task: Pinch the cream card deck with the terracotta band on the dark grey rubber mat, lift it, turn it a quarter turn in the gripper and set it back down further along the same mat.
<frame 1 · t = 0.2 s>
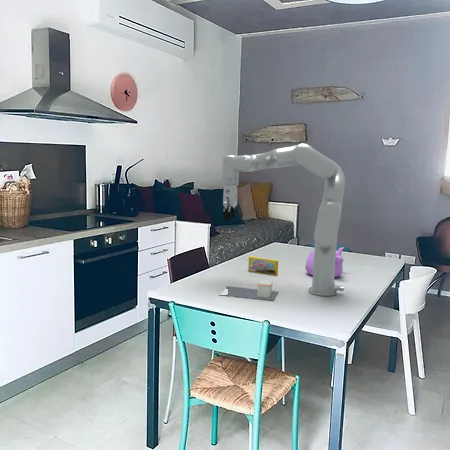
hand: (229, 218, 216), 31 cm above the table, tool pointing down, fingers open, 9 cm apart
candy box: (262, 274, 241), on the table
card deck: (264, 294, 202), resting on mat
mat: (249, 293, 203), on the table
teapot: (324, 275, 241), on the table
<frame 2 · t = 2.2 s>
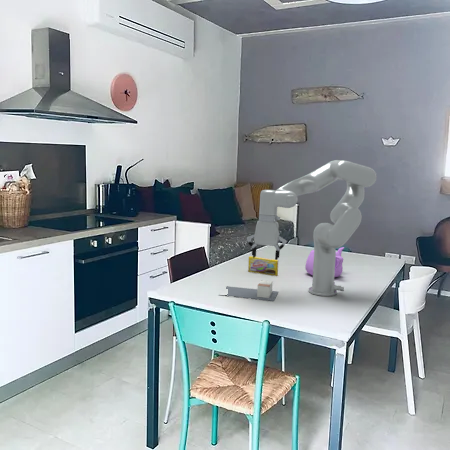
hand: (265, 258, 199), 17 cm above the table, tool pointing down, fingers open, 9 cm apart
nothing on the table moved.
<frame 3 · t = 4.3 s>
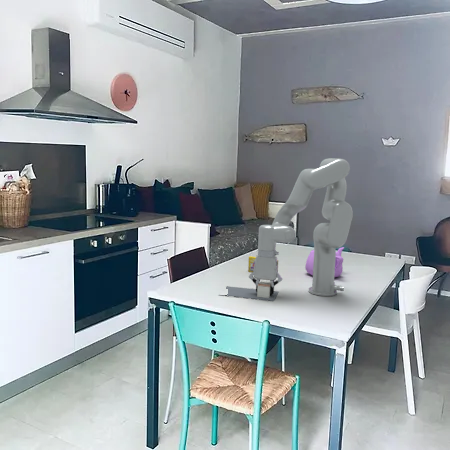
hand: (264, 294, 202), 1 cm above the table, tool pointing down, fingers closed on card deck, 5 cm apart
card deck: (264, 294, 202), resting on mat, touching gripper
everything else where it was.
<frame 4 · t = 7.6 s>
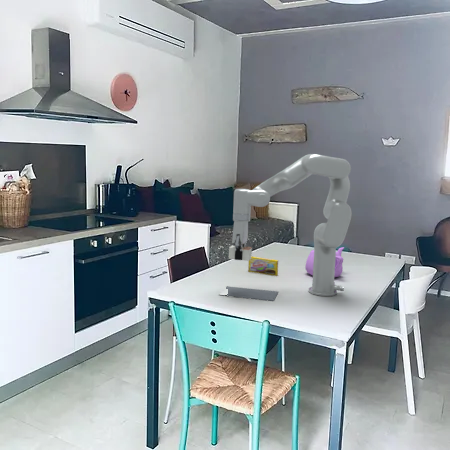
hand: (239, 258, 202), 16 cm above the table, tool pointing down, fingers closed on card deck, 5 cm apart
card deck: (240, 258, 202), point 15 cm above the table, touching gripper
everything else where it was.
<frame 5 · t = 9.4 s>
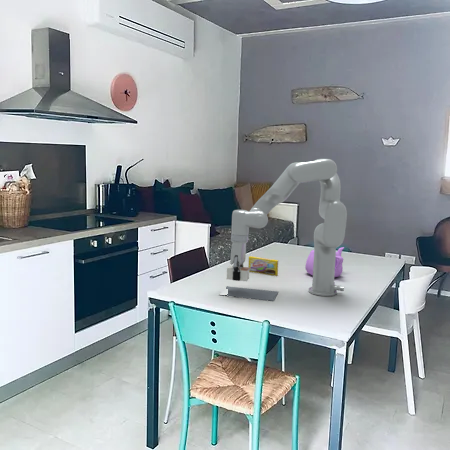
hand: (237, 278, 204), 6 cm above the table, tool pointing down, fingers closed on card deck, 5 cm apart
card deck: (237, 278, 204), point 6 cm above the table, touching gripper
everything else where it was.
when the fingers open (2 cm above the table, at t = 11.1 s): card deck stays where it is, resting on mat.
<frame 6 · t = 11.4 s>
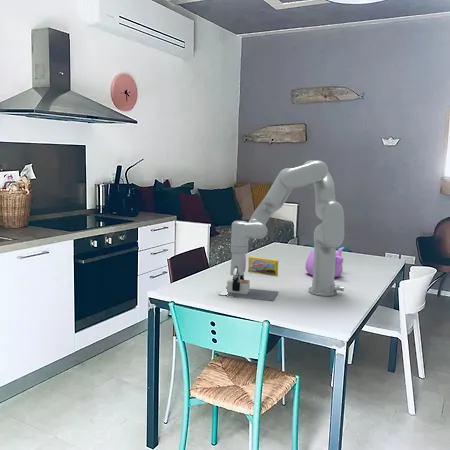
hand: (238, 288, 204), 2 cm above the table, tool pointing down, fingers open, 7 cm apart
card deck: (238, 291, 205), resting on mat
everything else where it was.
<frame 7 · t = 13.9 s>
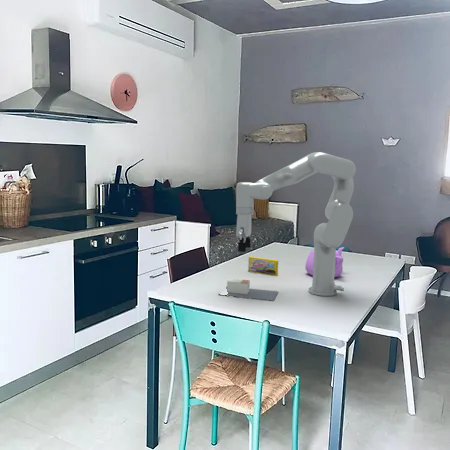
hand: (244, 249, 203), 19 cm above the table, tool pointing down, fingers open, 9 cm apart
nothing on the table moved.
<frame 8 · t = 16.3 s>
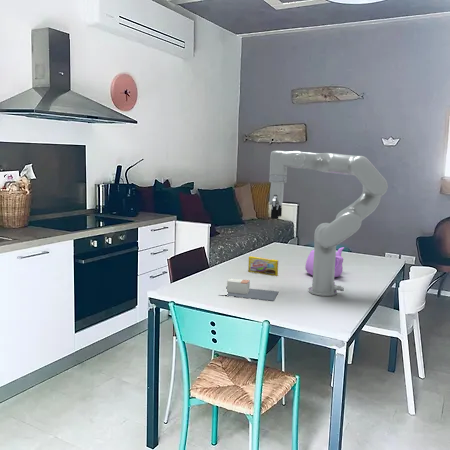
hand: (276, 217, 206), 33 cm above the table, tool pointing down, fingers open, 9 cm apart
nothing on the table moved.
at the end: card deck inside the target area on the mat (0.1 cm from its centre), point 0.4 cm above the mat's base; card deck tilted 0°; the gripper is holding nothing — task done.
